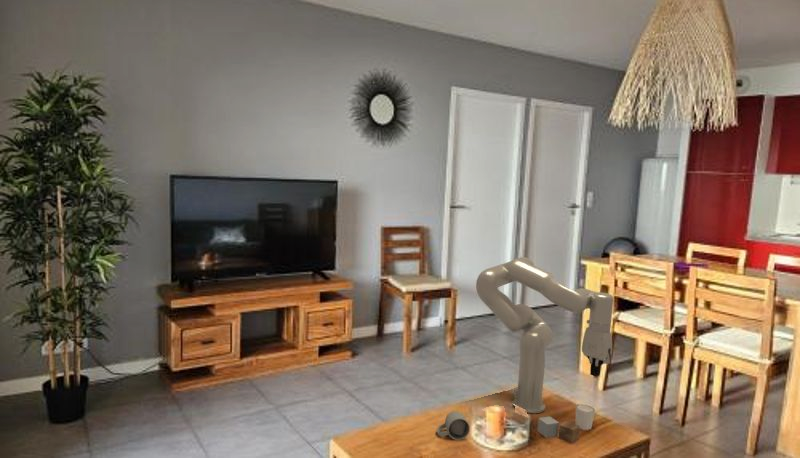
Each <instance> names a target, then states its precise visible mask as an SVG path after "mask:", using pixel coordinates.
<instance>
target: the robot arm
mask: <svg viewBox="0 0 800 458" xmlns="http://www.w3.org/2000/svg"><path fill="white" fill-rule="evenodd" d="M514 282H517V283H519V284H521V285H523V286H525V287H527V288H530V289H531V290H533V291H536V292H537V293H540V294H541V295H542V296H543V297H544V298H546V299H547V300H548V301H550V303H553V304H555V305H556V306H558V307H560V308H562V309H565V310H567V311H569V312H572V313H582V312H584V311H585V310H587V309H589V318H588V319H587V320H586V324H587V325H588V327H586V328H585V331H584V335H583V337H582V338H583V339H582V345H581V352H582V355H584V357H586V358H587V359H588V361H589V364H590V370H589V371H590V373H589V374H590V375H591V376H593V377H598V376H600V374H601V368H602V367H601V366H603V365H604V364H606V365H608V364H610V363H611V358H612V353H613V335H612V332H611V326H612V315H613V306H614V296H613V295H612V294H611V293H607V292H600V291H593V290H591V289H587V288H582V287H581V288H576V289H575V290H572V289H570V288H568V287H565V286H564V285H562V284H560V283H559V282H558V281H556V279H555V278H554V276H553V275H552V273H550V272H549V271H546V270H544V269H542V268H540V267H538V266H536V265H535V264H534V262H533V261H532V260H531V259H530V258H528V257H524V256H521V257H517V258H515V259H512V260H511V261H508V262H504V263H502V264H501V263H500V264H498V265H495V266H492V267H489V268H485V269H484V270H483V271H481V272H480V273H479V274H478V276H477V279H476V283H475V285H476V286H475V288H476V293H477V295H478V297H479V299H480V300H481V301H482V303H483V304H484V305H486V307H487V308H488V309H489V310H490V311H491V312H492V313H493V314H494V316H495V317H496V318H498V320H499V321H500V322H501V323H502V324H503V325H504V326H505V327H506V329H508V330H509V331H510V332H513V333H517V332H520V331H522V332H523V333H522V335H521V336H520V339H519V369H518V381H517V388H516V387H515V388H513V390H512V391H511V392H510V393H511V395H512V396H514V399H513V400H512V403H513V404H515V405H517V406H519V407H521V408H523V409H525V410H526V411H527V412H528V414H541V413H543V412H544V411H545V410H546V405H545V403H543V402H542V401H543V390H544V378H545V363H546V362H545V361H546V360H545V359H546V355H545V350H546V348H548V347H549V346H550V345H551V344H552V342H553V340H554V334H553V330H552V328H551V327H550V326H549V325H548V324H547V322H546V321H544V319H542V317H540V316H539V315H538V313H536V311H535V310H533V308H532V307H530V306H528V305H526V304H523V303H517V304H515V303H514V302H513V301H512V300H511V299H510V298H509V297H508V295H506V294H505V293H503V292H502V291H500V289H499V288H500V287H502V286H505V285H509V284H512V283H514Z"/></svg>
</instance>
